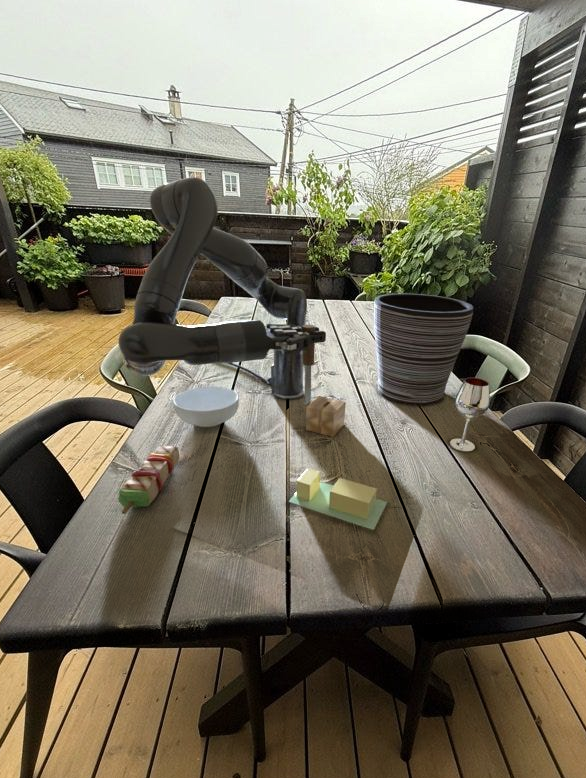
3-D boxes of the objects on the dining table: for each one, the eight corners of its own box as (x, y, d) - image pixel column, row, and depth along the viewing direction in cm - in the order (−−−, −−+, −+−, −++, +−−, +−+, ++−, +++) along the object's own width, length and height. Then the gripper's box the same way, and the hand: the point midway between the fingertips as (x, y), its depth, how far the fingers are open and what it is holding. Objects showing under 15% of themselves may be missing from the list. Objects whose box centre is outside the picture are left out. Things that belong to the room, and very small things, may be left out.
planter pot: (450, 418, 119) (471, 317, 105) (354, 399, 127) (362, 304, 114) (458, 384, 144) (476, 300, 131) (378, 370, 153) (387, 290, 139)
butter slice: (296, 497, 81) (296, 480, 79) (307, 483, 85) (307, 468, 83) (309, 501, 80) (310, 485, 78) (320, 487, 84) (320, 472, 82)
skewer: (156, 460, 91) (153, 441, 89) (184, 462, 91) (181, 443, 89) (107, 522, 73) (101, 500, 71) (142, 524, 73) (138, 502, 71)
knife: (299, 403, 87) (299, 326, 79) (305, 398, 89) (305, 323, 82) (310, 405, 86) (311, 328, 79) (315, 401, 89) (317, 325, 81)
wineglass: (478, 441, 107) (494, 379, 99) (478, 456, 100) (494, 390, 92) (447, 435, 109) (460, 373, 101) (445, 449, 102) (458, 384, 94)
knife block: (305, 429, 108) (306, 406, 105) (318, 418, 115) (319, 396, 111) (332, 436, 105) (334, 413, 102) (344, 424, 112) (345, 401, 109)
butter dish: (288, 504, 80) (288, 485, 78) (308, 481, 87) (308, 462, 85) (373, 533, 74) (375, 512, 72) (387, 504, 81) (389, 485, 79)
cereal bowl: (252, 416, 114) (250, 393, 110) (212, 441, 100) (210, 416, 97) (205, 403, 120) (202, 381, 117) (162, 425, 106) (158, 401, 103)
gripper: (248, 331, 68) (338, 324, 75) (228, 313, 79) (308, 308, 86) (250, 372, 71) (336, 362, 79) (231, 349, 82) (307, 342, 90)
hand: (321, 334), depth 82 cm, fingers closed on knife, 2 cm apart
